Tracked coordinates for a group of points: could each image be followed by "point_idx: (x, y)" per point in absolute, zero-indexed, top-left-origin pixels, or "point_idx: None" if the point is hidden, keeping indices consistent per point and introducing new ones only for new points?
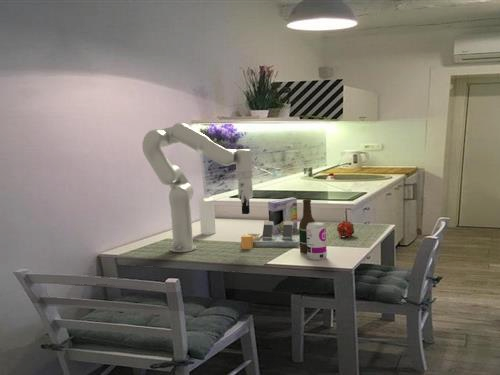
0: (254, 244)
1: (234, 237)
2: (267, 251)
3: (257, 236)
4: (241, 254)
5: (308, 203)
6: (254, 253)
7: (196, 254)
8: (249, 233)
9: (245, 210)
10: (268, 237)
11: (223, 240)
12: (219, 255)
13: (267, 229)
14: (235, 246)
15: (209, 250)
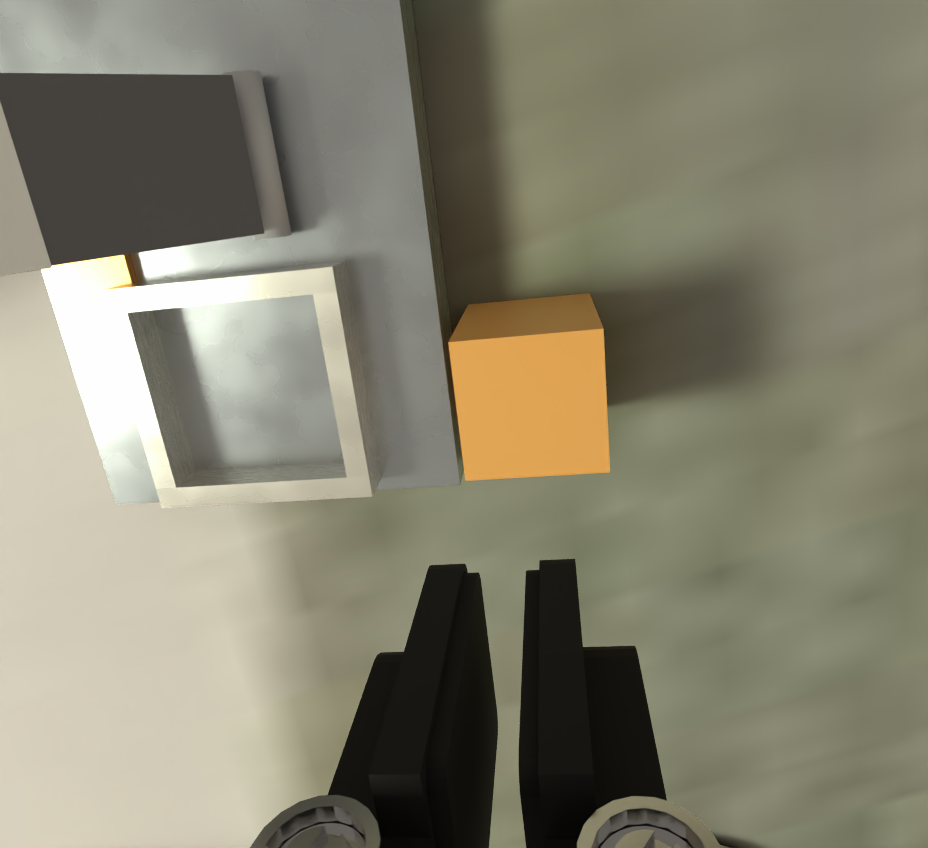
0: (442, 297)
1: (102, 650)
2: (687, 2)
3: (161, 357)
4: (869, 320)
5: None
6: (812, 162)
7: (867, 772)
8: (156, 481)
9: (647, 709)
10: (262, 127)
11: (258, 711)
12: (915, 554)
13: (135, 167)
14: (482, 518)
15: (693, 711)
